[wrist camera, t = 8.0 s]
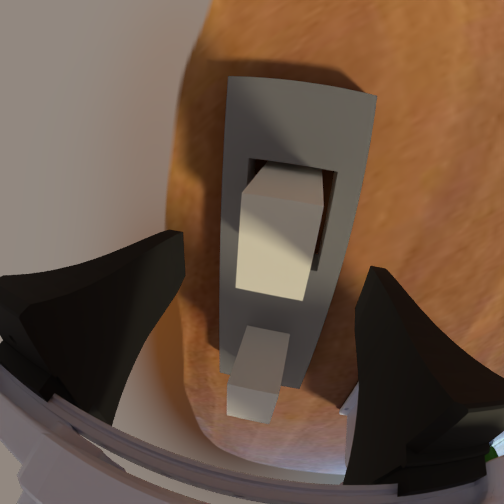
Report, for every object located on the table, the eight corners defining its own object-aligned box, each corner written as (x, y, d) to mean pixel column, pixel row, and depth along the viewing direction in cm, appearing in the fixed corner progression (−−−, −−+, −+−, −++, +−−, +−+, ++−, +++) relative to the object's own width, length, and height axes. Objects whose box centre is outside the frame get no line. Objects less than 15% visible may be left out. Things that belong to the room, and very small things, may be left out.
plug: (309, 238, 17) (302, 300, 12) (261, 229, 18) (235, 287, 13) (321, 168, 15) (323, 206, 10) (268, 160, 15) (241, 192, 10)
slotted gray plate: (301, 370, 24) (291, 439, 18) (226, 355, 25) (201, 419, 19) (369, 96, 12) (410, 93, 6) (239, 79, 13) (182, 66, 7)
